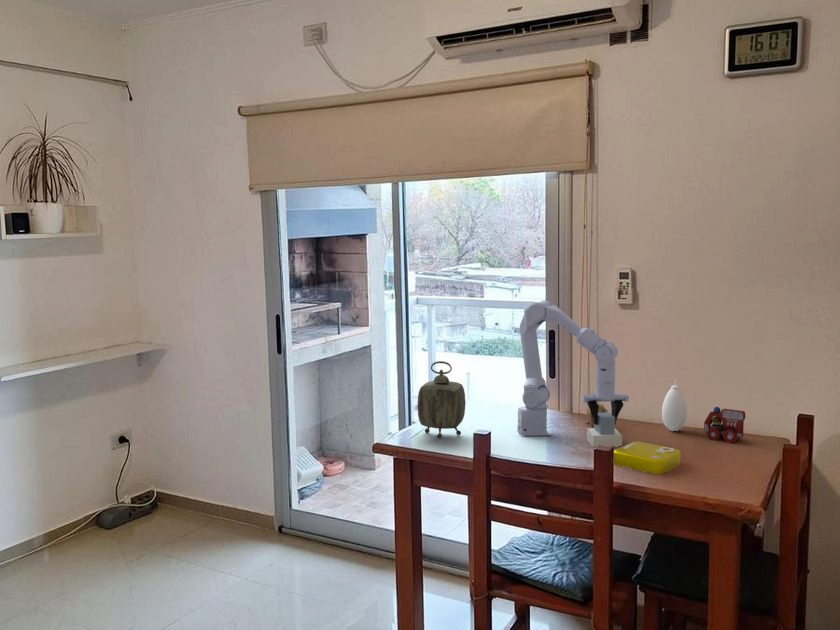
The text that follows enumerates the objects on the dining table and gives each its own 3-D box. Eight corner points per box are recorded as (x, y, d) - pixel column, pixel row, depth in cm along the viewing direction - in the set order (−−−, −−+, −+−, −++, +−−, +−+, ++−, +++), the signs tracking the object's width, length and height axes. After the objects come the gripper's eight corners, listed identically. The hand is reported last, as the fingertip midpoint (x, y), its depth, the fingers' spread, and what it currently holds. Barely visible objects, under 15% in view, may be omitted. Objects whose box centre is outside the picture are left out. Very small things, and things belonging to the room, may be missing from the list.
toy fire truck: (708, 433, 242) (709, 403, 241) (747, 440, 234) (748, 408, 233) (700, 438, 237) (702, 406, 236) (740, 445, 229) (742, 412, 228)
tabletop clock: (465, 434, 241) (465, 360, 239) (459, 442, 233) (460, 364, 230) (423, 431, 245) (423, 358, 243) (415, 438, 237) (415, 362, 234)
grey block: (600, 434, 228) (601, 417, 228) (594, 429, 234) (595, 412, 233) (614, 434, 228) (615, 417, 228) (608, 429, 234) (608, 412, 234)
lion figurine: (608, 430, 246) (609, 404, 245) (593, 431, 245) (594, 405, 244) (593, 420, 261) (594, 395, 260) (579, 420, 260) (579, 395, 259)
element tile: (634, 454, 221) (635, 438, 221) (682, 464, 211) (683, 448, 210) (610, 465, 210) (610, 449, 210) (659, 477, 200) (660, 460, 200)
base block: (592, 448, 227) (593, 435, 227) (586, 440, 236) (586, 428, 236) (621, 448, 227) (622, 435, 227) (614, 440, 236) (614, 428, 236)
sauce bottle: (689, 430, 246) (691, 378, 244) (680, 435, 240) (683, 381, 238) (666, 426, 251) (668, 375, 249) (657, 431, 245) (659, 378, 243)
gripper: (586, 384, 225) (585, 427, 227) (632, 383, 226) (631, 426, 228) (580, 380, 232) (579, 421, 234) (624, 379, 233) (623, 420, 235)
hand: (604, 423), depth 231 cm, fingers open, 5 cm apart
